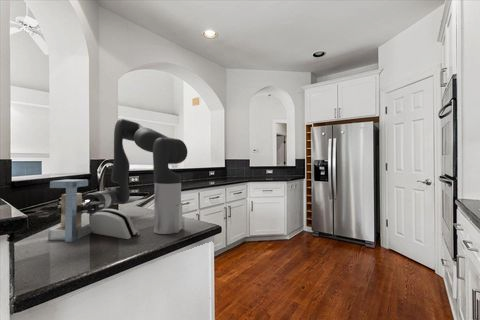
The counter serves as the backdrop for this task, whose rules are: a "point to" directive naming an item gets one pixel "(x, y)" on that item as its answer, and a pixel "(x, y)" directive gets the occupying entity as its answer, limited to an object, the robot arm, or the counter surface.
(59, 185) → the grey i-shaped block
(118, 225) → the gray curved wedge
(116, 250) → the counter surface
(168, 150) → the robot arm
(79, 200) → the link
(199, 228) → the counter surface
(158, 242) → the counter surface
